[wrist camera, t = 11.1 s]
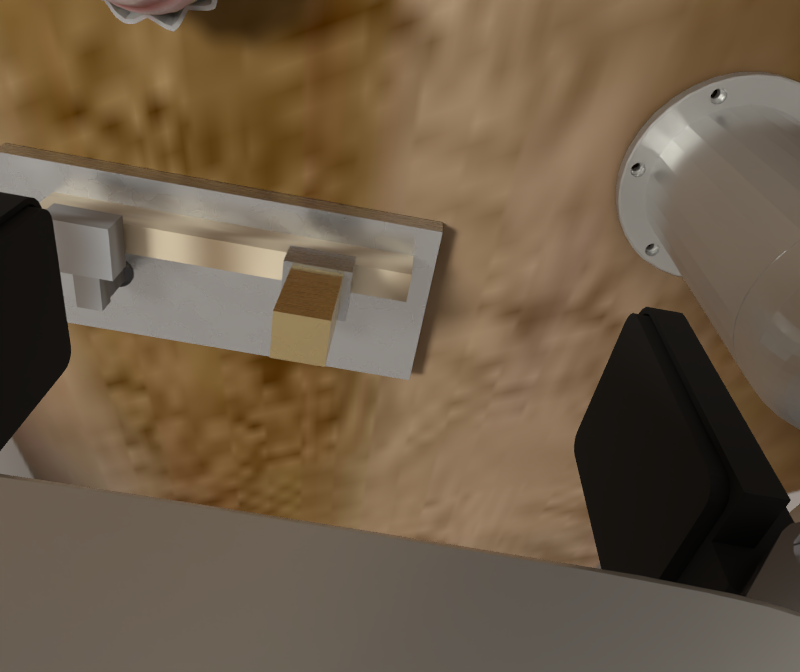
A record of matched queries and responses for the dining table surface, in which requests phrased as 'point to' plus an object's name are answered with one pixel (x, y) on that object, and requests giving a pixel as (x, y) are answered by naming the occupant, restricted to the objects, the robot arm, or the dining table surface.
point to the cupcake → (157, 10)
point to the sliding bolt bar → (192, 248)
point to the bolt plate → (230, 291)
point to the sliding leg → (310, 304)
